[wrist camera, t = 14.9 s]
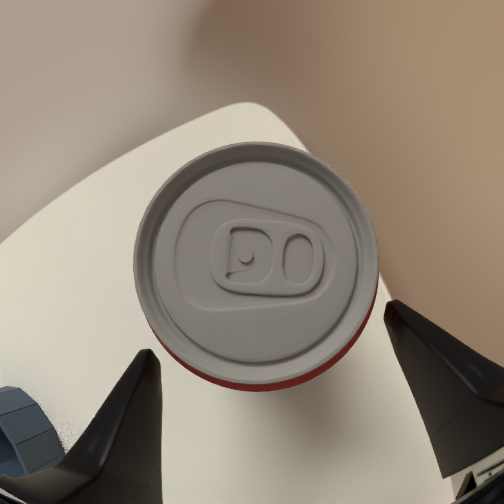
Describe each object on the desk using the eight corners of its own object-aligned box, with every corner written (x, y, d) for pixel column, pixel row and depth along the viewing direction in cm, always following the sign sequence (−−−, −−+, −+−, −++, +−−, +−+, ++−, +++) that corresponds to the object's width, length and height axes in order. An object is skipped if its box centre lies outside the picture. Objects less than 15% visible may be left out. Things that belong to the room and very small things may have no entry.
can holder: (79, 459, 16) (45, 483, 10) (42, 482, 15) (14, 500, 9) (18, 369, 17) (-23, 376, 12) (-8, 408, 16) (-40, 416, 11)
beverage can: (213, 232, 18) (138, 120, 7) (318, 239, 18) (395, 134, 6) (203, 336, 17) (97, 384, 5) (311, 345, 17) (392, 414, 5)
